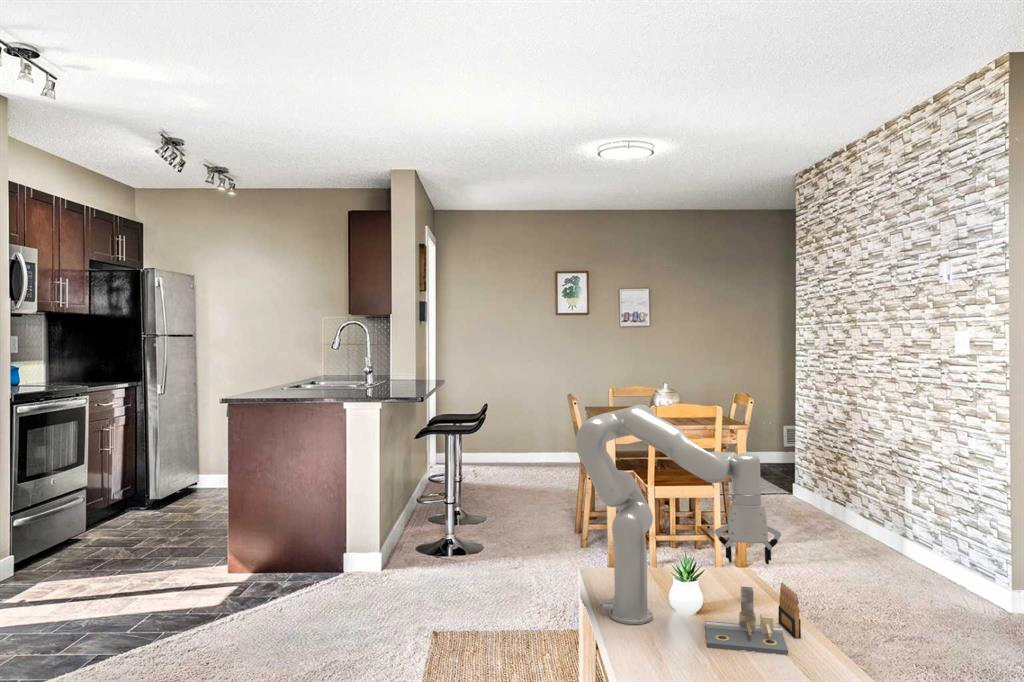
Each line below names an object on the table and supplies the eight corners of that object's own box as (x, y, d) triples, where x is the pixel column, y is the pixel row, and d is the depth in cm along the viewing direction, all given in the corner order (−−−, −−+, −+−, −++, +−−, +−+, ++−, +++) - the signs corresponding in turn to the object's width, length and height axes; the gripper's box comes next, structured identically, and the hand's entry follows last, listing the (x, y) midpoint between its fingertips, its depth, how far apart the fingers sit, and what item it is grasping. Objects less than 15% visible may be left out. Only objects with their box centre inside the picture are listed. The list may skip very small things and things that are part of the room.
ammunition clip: (801, 638, 186) (800, 594, 186) (794, 638, 186) (793, 594, 186) (784, 622, 197) (784, 580, 197) (778, 623, 197) (777, 580, 197)
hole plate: (707, 647, 181) (706, 626, 181) (705, 625, 196) (705, 605, 196) (788, 655, 176) (788, 633, 176) (780, 631, 191) (780, 611, 191)
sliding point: (742, 637, 182) (741, 597, 182) (739, 624, 191) (739, 586, 191) (758, 639, 181) (757, 599, 181) (754, 625, 190) (754, 587, 190)
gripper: (714, 501, 188) (716, 564, 188) (781, 503, 184) (783, 567, 183) (713, 495, 195) (714, 556, 195) (778, 497, 191) (780, 559, 191)
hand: (748, 561), depth 189 cm, fingers open, 9 cm apart
